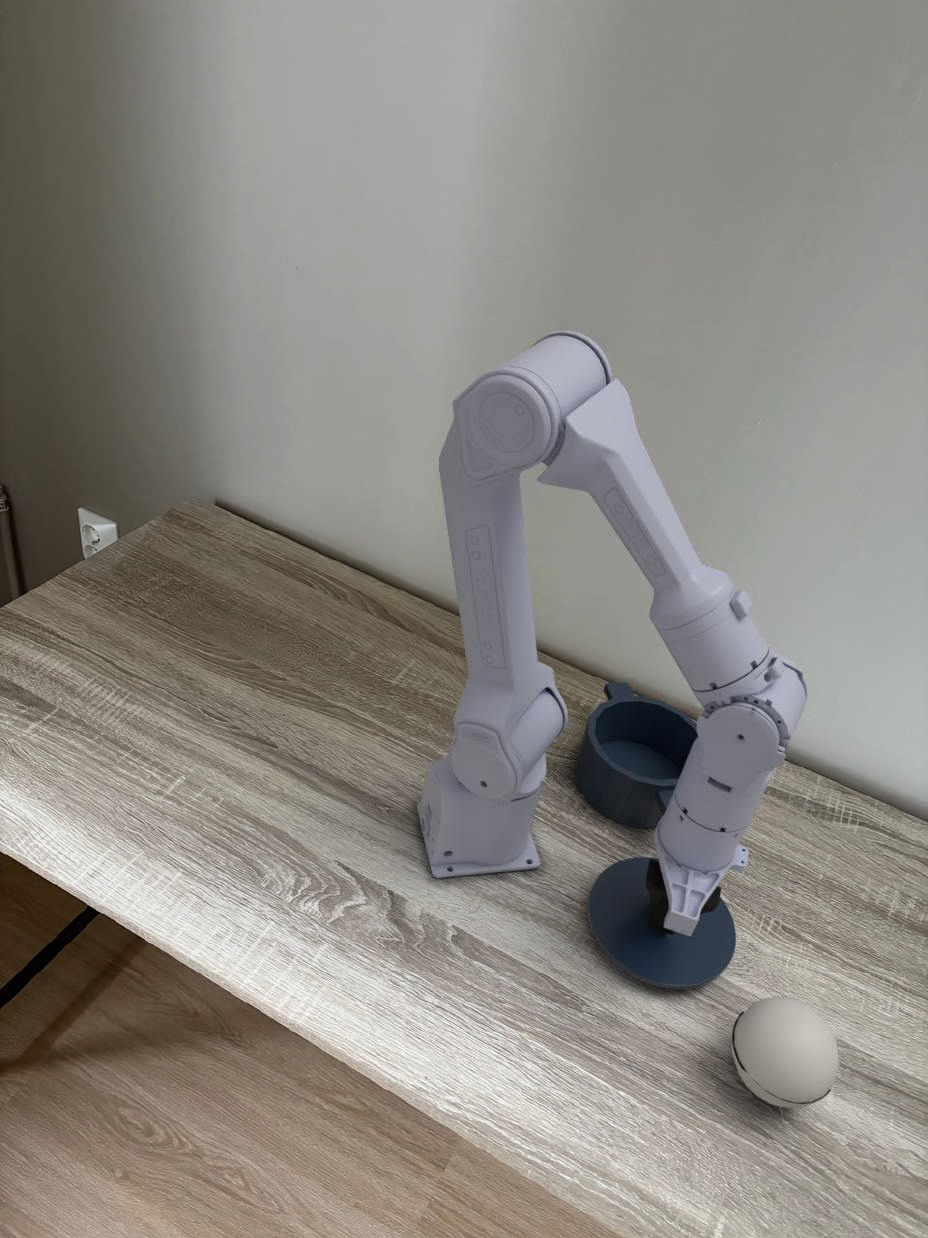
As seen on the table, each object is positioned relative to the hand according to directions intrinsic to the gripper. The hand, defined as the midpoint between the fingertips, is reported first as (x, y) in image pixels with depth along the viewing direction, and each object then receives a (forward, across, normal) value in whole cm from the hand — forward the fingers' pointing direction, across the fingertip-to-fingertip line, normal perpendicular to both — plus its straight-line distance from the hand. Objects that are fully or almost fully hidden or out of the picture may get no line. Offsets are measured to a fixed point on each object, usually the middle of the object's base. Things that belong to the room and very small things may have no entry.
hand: (663, 913), depth 79 cm
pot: (+2, +16, +5) cm, 17 cm away
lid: (+1, 0, 0) cm, 1 cm away
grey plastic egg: (+3, -11, -10) cm, 15 cm away
